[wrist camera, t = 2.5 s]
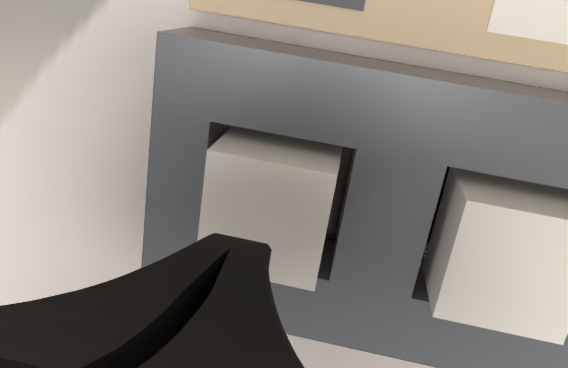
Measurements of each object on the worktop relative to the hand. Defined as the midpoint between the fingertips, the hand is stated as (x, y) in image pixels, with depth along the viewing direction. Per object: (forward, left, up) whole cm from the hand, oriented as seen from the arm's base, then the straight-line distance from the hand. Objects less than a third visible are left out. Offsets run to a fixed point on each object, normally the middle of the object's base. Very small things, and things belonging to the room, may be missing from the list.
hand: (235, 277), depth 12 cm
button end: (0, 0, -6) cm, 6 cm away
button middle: (0, -7, -6) cm, 9 cm away
